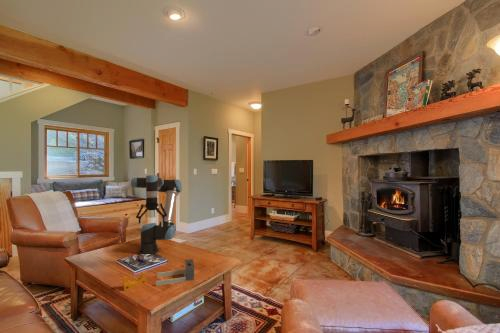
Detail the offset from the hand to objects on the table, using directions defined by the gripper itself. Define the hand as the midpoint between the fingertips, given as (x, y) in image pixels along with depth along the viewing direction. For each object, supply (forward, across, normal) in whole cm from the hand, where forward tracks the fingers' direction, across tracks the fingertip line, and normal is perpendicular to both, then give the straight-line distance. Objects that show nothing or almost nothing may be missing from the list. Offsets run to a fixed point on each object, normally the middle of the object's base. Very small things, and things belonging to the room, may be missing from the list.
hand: (151, 227), depth 167 cm
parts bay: (+29, +13, -22) cm, 38 cm away
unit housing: (+29, +24, -22) cm, 44 cm away
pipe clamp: (+29, -7, -25) cm, 39 cm away
